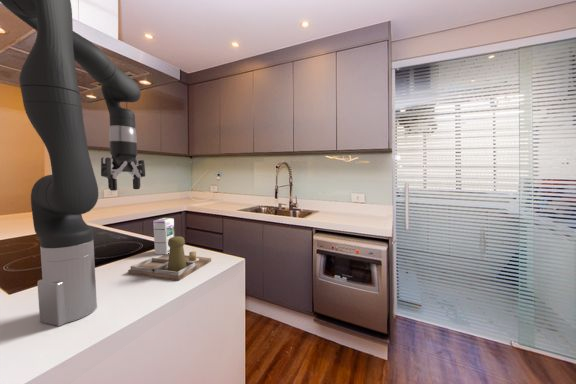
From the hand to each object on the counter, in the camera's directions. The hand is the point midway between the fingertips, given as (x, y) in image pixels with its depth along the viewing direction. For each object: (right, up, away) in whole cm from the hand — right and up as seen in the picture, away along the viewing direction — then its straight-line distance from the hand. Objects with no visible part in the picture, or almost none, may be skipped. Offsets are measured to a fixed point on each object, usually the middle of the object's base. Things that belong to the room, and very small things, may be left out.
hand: (125, 189), depth 82 cm
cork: (+17, -27, +1) cm, 32 cm away
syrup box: (+2, -27, +22) cm, 35 cm away
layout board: (+13, -28, +6) cm, 31 cm away
